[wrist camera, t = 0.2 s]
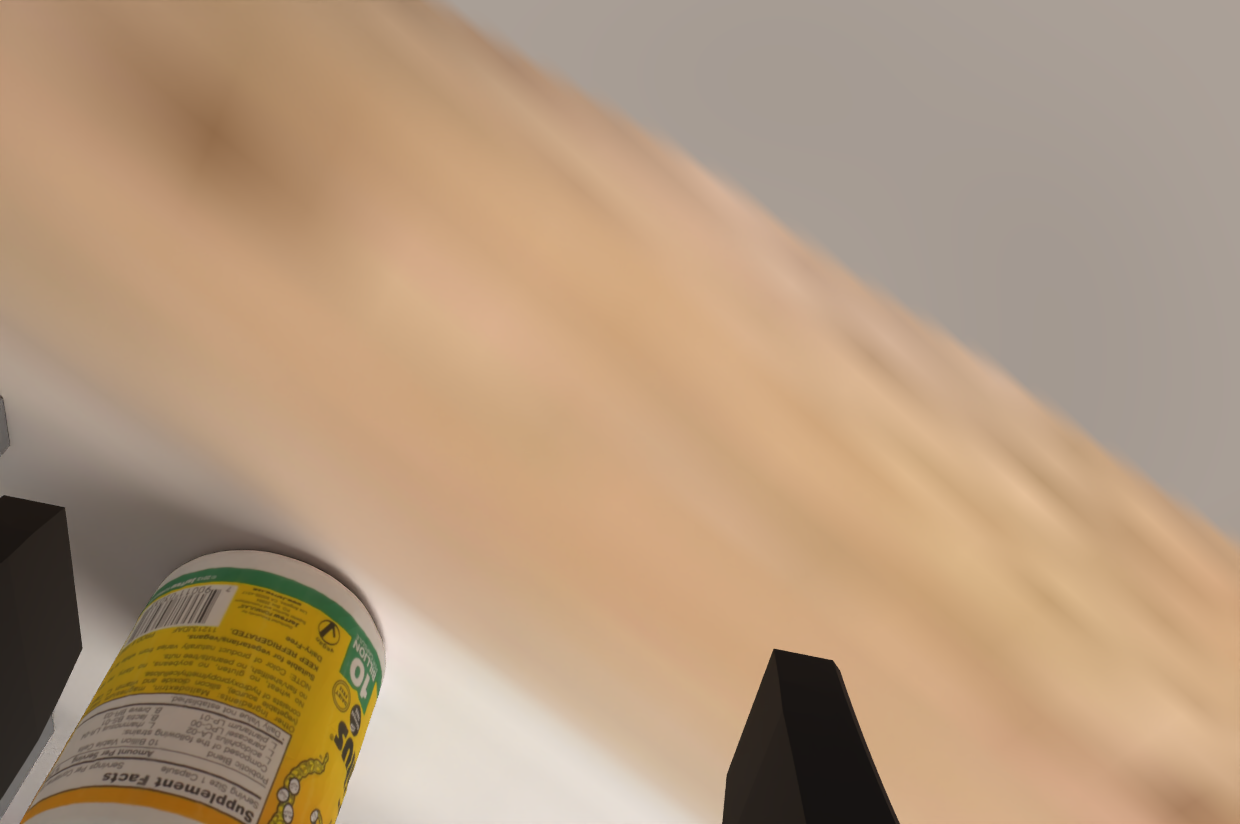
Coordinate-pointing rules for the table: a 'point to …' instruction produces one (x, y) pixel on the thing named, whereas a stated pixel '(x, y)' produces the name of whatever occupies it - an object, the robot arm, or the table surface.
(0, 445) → the u rest
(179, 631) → the supplement bottle
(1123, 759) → the table surface
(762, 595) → the table surface
